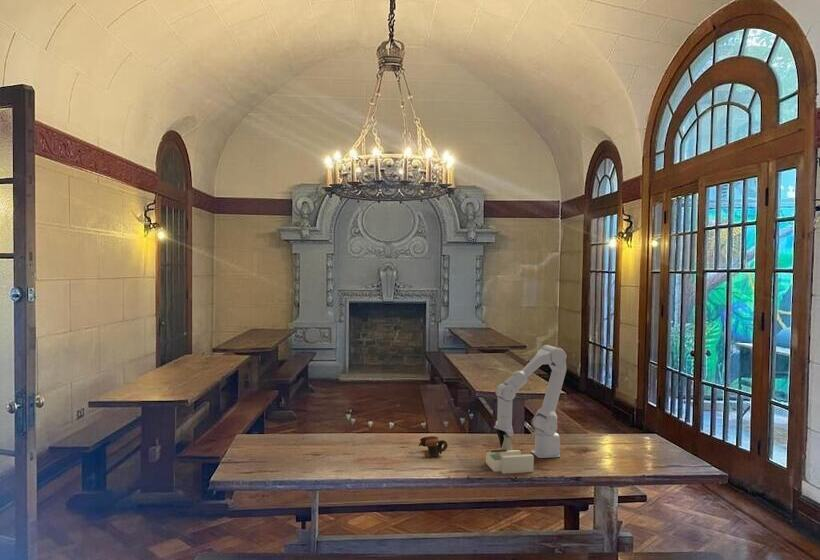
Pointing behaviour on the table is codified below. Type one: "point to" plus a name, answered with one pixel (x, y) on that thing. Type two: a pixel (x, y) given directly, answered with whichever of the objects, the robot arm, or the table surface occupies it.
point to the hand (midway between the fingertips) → (503, 449)
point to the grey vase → (506, 443)
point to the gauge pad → (507, 452)
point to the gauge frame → (510, 463)
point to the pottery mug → (433, 446)
